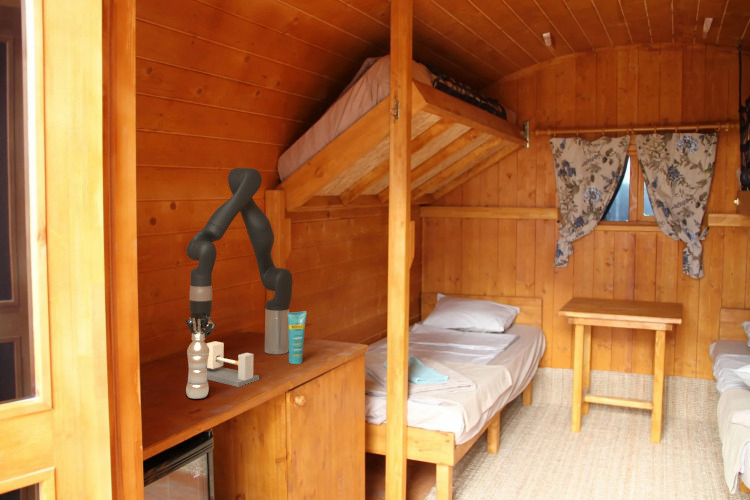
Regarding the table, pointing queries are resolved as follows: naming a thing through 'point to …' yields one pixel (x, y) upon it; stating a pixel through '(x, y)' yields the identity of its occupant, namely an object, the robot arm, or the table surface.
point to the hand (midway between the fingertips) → (200, 347)
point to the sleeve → (215, 354)
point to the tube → (296, 336)
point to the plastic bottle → (197, 367)
